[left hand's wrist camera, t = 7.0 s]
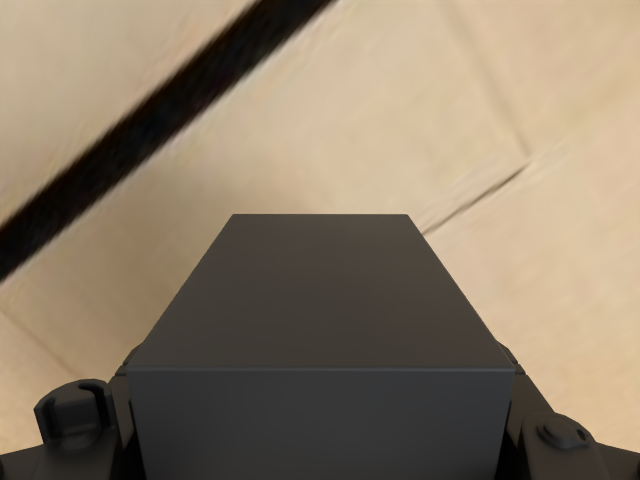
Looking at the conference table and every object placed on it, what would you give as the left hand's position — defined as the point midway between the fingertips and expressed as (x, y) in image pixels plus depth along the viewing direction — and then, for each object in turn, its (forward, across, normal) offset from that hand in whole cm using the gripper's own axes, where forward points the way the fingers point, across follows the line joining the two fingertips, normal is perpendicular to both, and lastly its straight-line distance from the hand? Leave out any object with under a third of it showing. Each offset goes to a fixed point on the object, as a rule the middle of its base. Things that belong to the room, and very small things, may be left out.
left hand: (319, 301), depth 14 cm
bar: (0, 0, -10) cm, 10 cm away
